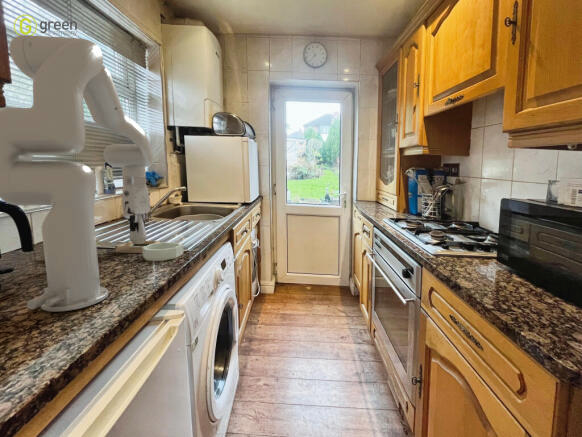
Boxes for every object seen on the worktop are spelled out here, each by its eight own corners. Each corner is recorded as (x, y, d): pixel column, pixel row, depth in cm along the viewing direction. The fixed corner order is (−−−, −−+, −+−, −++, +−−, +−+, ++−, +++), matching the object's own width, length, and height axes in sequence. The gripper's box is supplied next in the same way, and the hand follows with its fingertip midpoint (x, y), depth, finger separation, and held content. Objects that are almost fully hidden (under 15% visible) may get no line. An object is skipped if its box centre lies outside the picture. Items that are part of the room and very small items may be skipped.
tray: (144, 254, 105) (143, 247, 105) (115, 253, 106) (114, 246, 106) (161, 247, 116) (160, 241, 115) (134, 246, 117) (134, 240, 117)
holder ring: (171, 261, 96) (170, 250, 96) (136, 260, 97) (135, 249, 97) (187, 252, 108) (187, 242, 107) (156, 251, 109) (156, 242, 109)
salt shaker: (139, 245, 107) (137, 209, 105) (126, 244, 108) (123, 208, 106) (150, 241, 113) (148, 207, 111) (137, 241, 114) (134, 207, 112)
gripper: (129, 182, 99) (133, 236, 101) (156, 182, 115) (159, 229, 118) (108, 182, 100) (113, 236, 102) (138, 182, 116) (141, 228, 118)
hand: (137, 231), depth 110 cm, fingers closed on salt shaker, 3 cm apart
